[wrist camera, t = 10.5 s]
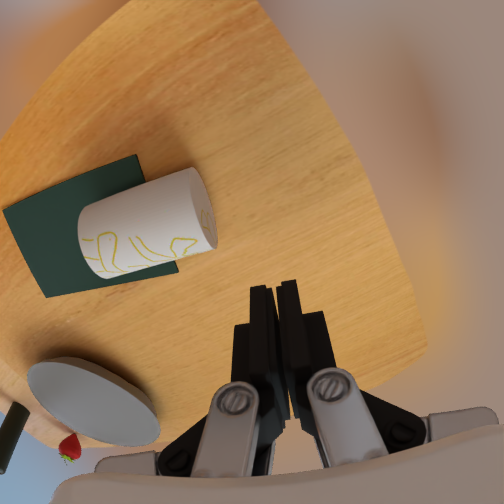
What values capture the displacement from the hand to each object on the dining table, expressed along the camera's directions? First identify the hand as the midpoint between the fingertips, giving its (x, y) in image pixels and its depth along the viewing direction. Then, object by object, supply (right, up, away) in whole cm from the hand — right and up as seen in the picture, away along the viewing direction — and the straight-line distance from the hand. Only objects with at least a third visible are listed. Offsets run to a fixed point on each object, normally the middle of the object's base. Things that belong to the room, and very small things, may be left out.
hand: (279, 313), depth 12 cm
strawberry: (-48, -46, +52) cm, 84 cm away
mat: (-23, +4, +25) cm, 34 cm away
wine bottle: (-64, -40, +49) cm, 90 cm away
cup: (-5, +7, +18) cm, 20 cm away
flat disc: (-31, -25, +41) cm, 58 cm away
